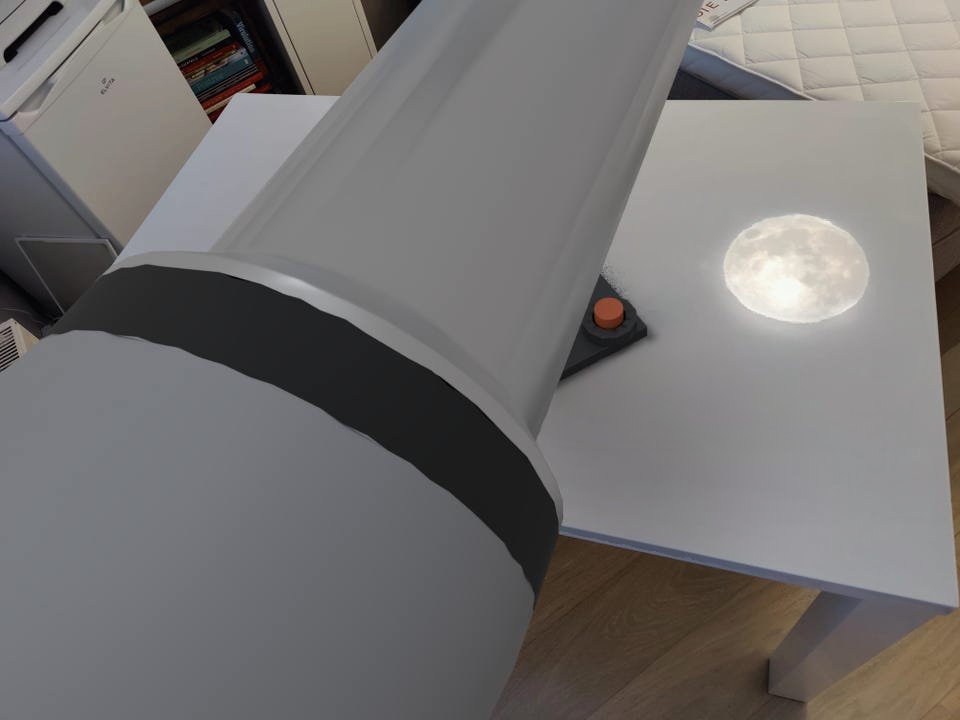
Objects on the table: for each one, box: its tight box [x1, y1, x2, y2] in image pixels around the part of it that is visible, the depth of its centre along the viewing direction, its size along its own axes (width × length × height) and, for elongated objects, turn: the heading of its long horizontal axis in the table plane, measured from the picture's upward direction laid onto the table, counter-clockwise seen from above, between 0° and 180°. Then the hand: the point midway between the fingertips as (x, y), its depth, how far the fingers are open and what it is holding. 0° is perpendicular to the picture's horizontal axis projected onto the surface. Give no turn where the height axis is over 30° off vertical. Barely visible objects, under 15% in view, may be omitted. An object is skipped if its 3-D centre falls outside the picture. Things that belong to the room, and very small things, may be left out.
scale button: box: [594, 298, 623, 329], centre depth 79 cm, size 3×3×2 cm
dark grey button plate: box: [559, 273, 648, 382], centre depth 83 cm, size 16×14×4 cm
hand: (539, 215), depth 66 cm, fingers closed on beverage can, 7 cm apart
